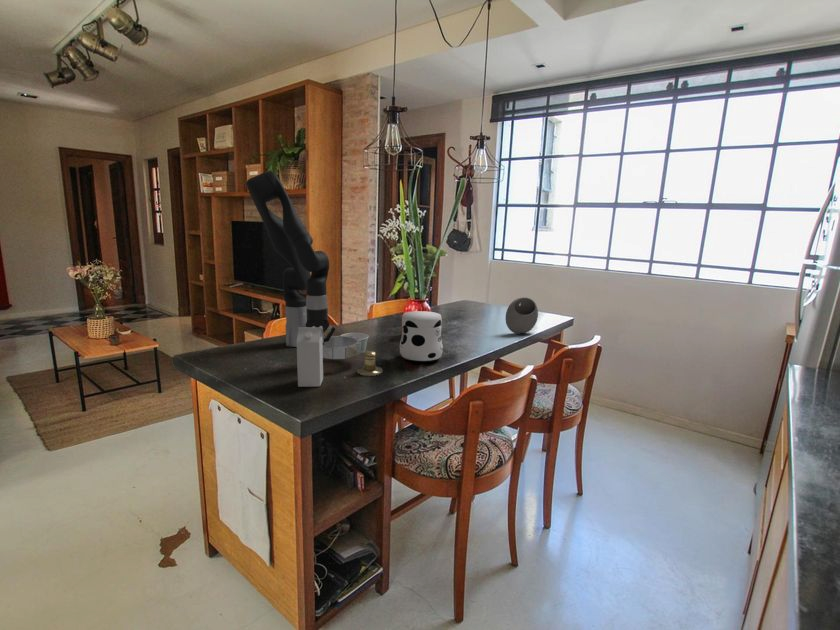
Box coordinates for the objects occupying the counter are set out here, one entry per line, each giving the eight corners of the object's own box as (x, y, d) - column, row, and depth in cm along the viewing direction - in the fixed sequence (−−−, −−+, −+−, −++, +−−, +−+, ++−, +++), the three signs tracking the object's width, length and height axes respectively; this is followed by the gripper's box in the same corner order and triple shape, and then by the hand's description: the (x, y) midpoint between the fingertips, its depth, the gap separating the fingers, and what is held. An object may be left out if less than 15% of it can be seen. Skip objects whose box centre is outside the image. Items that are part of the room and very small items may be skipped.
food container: (352, 357, 171) (351, 341, 170) (333, 351, 179) (333, 335, 177) (374, 351, 180) (374, 336, 178) (356, 345, 188) (356, 331, 186)
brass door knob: (357, 376, 149) (357, 356, 147) (357, 368, 158) (356, 349, 156) (383, 376, 150) (383, 355, 149) (381, 367, 159) (381, 348, 158)
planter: (508, 336, 210) (511, 299, 206) (500, 333, 216) (503, 296, 213) (540, 334, 216) (543, 297, 212) (531, 331, 223) (534, 295, 219)
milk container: (451, 359, 171) (453, 315, 167) (420, 368, 159) (421, 321, 156) (421, 350, 183) (422, 309, 179) (390, 358, 171) (390, 314, 168)
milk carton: (301, 379, 145) (300, 324, 141) (323, 379, 146) (322, 325, 142) (297, 387, 138) (296, 329, 134) (320, 387, 139) (319, 330, 135)
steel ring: (315, 359, 151) (314, 349, 150) (316, 346, 167) (316, 336, 166) (362, 357, 154) (362, 347, 153) (359, 344, 170) (359, 335, 169)
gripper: (296, 309, 150) (298, 356, 154) (336, 308, 153) (337, 354, 157) (298, 305, 158) (300, 350, 161) (336, 304, 160) (337, 348, 164)
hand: (318, 352), depth 159 cm, fingers closed on steel ring, 1 cm apart
